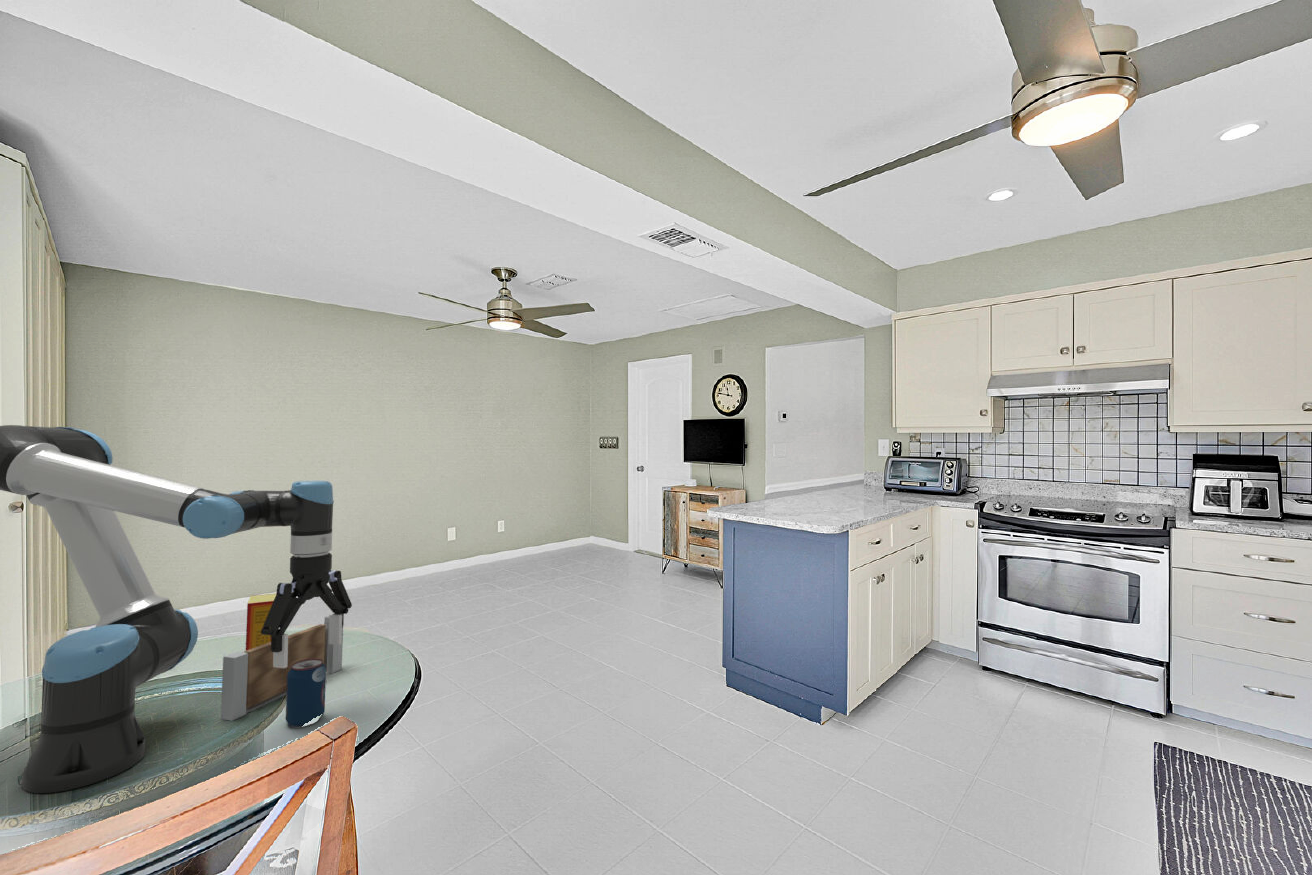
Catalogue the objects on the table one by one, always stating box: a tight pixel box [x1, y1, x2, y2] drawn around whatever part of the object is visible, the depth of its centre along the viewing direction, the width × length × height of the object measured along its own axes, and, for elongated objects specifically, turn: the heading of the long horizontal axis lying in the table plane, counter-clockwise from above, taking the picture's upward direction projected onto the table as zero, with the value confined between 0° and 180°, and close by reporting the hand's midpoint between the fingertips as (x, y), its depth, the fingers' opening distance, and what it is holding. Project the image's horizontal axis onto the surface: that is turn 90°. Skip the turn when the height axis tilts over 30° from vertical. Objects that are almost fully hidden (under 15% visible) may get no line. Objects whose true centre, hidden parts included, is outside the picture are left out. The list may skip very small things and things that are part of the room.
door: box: [243, 622, 328, 708], centre depth 130 cm, size 22×3×12 cm, turn 166°
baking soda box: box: [245, 592, 277, 651], centre depth 152 cm, size 10×6×16 cm
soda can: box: [284, 659, 327, 729], centre depth 115 cm, size 7×7×12 cm
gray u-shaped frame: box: [220, 615, 344, 722], centre depth 129 cm, size 29×3×14 cm, turn 166°
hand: (309, 655), depth 116 cm, fingers open, 13 cm apart
